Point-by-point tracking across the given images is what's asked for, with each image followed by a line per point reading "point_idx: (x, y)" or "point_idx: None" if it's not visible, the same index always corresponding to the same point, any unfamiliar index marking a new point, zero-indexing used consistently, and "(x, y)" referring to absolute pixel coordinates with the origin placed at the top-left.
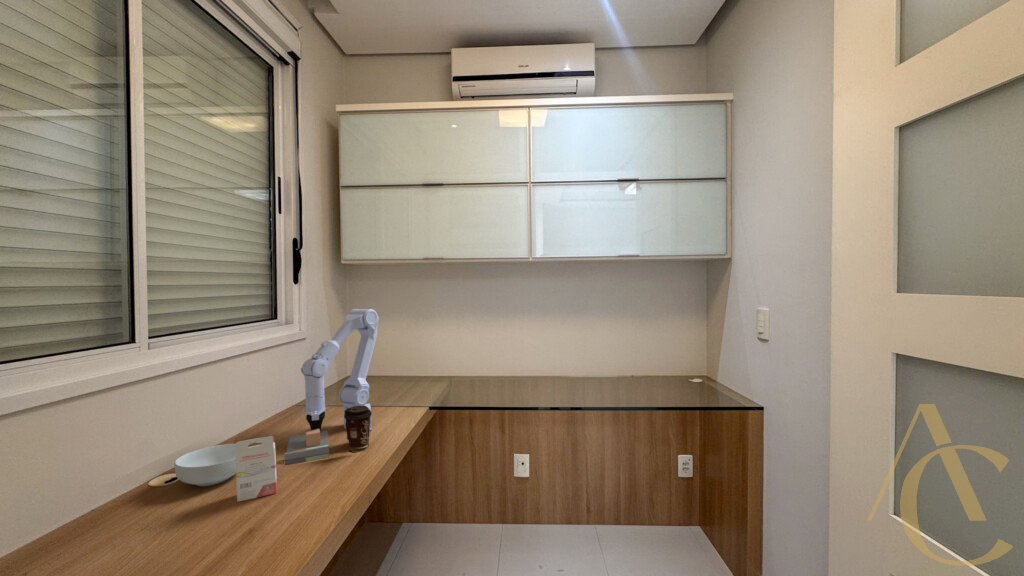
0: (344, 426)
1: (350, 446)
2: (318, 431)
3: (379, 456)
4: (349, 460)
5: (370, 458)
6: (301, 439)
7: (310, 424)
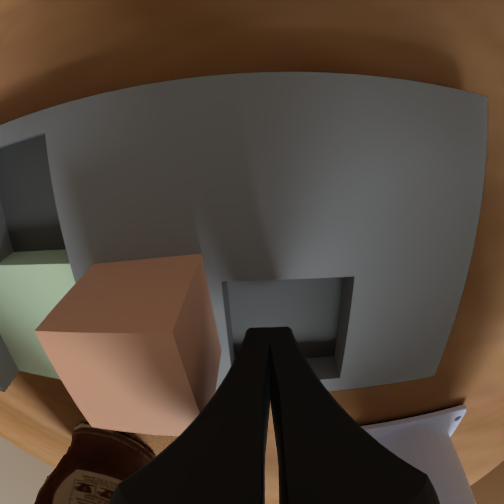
0: (408, 446)
1: (73, 442)
2: (115, 423)
3: (47, 456)
4: (10, 398)
5: (31, 439)
6: (345, 202)
7: (183, 439)
